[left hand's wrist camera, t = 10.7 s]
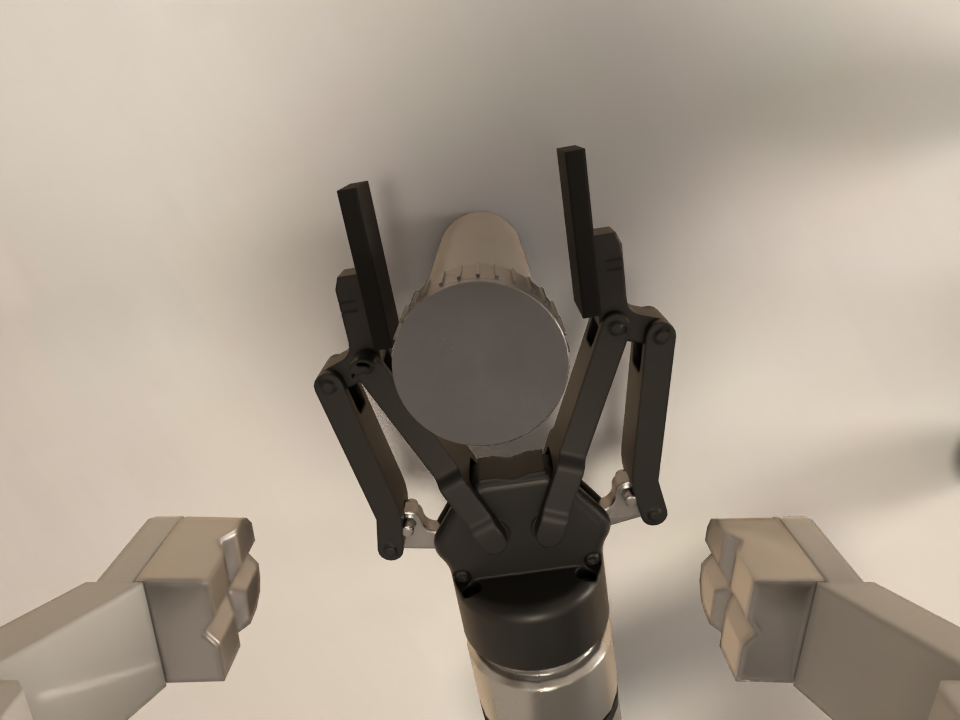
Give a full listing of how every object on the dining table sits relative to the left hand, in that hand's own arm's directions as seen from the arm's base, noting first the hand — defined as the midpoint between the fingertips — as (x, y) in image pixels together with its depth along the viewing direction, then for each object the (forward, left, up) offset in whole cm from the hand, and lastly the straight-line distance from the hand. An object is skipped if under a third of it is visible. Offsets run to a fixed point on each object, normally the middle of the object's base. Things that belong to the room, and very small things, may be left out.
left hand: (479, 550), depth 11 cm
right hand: (-5, 0, -18) cm, 18 cm away
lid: (0, 0, -8) cm, 8 cm away
